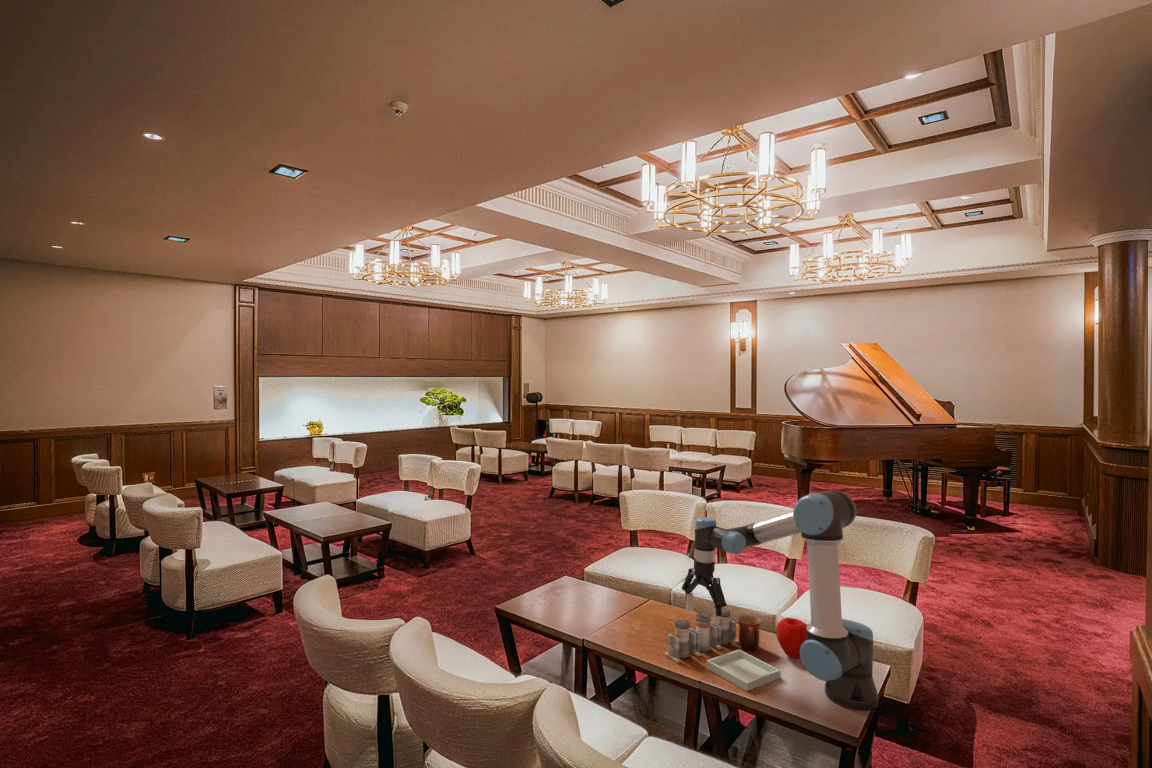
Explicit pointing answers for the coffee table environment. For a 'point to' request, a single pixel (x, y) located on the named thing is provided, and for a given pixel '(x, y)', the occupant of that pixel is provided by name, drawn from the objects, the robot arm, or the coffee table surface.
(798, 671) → the coffee table surface
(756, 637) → the mug
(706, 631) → the cylinder
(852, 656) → the robot arm
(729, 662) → the tray
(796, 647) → the apple
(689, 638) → the clip rack
